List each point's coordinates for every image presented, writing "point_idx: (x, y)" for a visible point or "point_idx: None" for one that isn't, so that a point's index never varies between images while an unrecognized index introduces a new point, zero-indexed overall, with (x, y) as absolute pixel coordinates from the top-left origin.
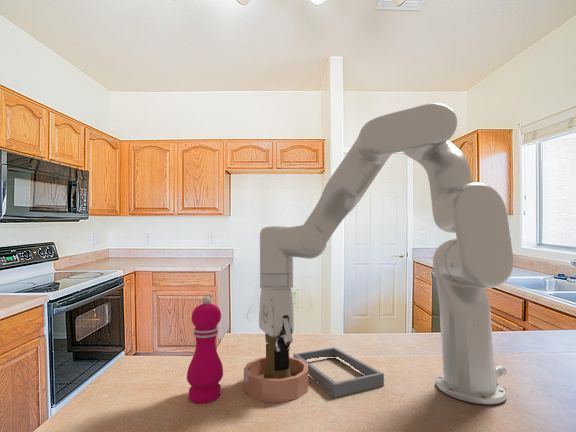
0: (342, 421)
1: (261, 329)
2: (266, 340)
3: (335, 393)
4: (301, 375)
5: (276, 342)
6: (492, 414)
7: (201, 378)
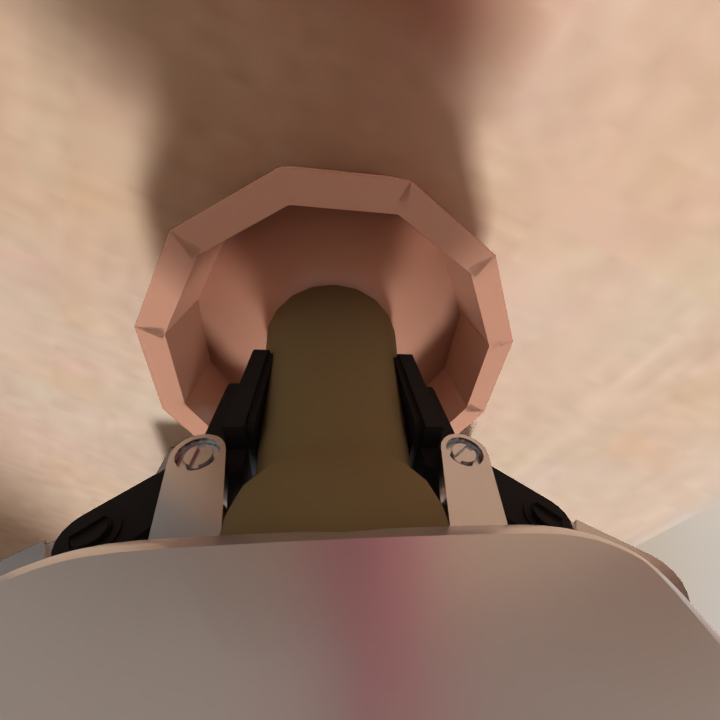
0: (7, 405)
1: (511, 535)
2: (346, 454)
3: (166, 459)
4: (187, 428)
5: (181, 505)
6: None
7: None
